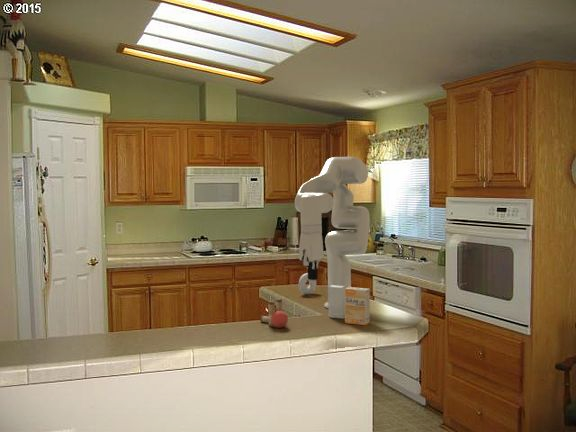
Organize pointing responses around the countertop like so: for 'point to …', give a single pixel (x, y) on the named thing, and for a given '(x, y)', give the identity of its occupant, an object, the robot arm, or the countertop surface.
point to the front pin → (264, 319)
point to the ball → (279, 319)
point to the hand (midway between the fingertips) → (312, 279)
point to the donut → (303, 284)
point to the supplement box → (357, 306)
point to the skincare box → (336, 301)
